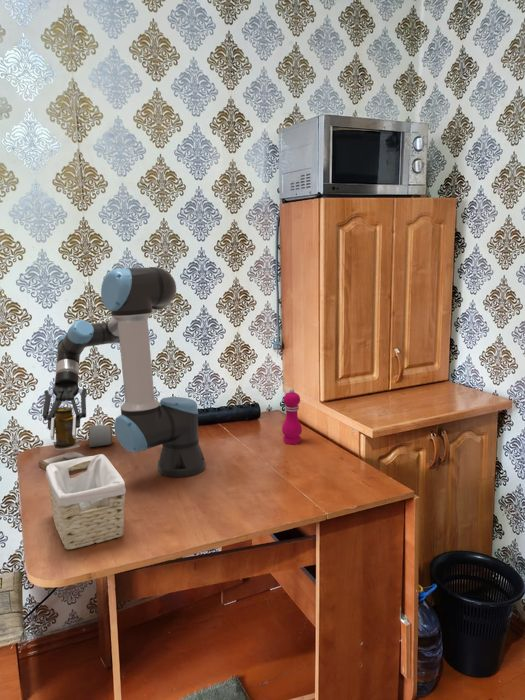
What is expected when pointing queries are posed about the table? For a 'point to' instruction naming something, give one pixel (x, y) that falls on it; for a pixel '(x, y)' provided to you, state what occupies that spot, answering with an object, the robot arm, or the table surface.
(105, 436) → the ceramic mug
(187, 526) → the table surface
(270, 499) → the table surface
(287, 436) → the pepper mill
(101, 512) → the storage basket
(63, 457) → the writing board
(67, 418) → the condiment
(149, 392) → the robot arm
